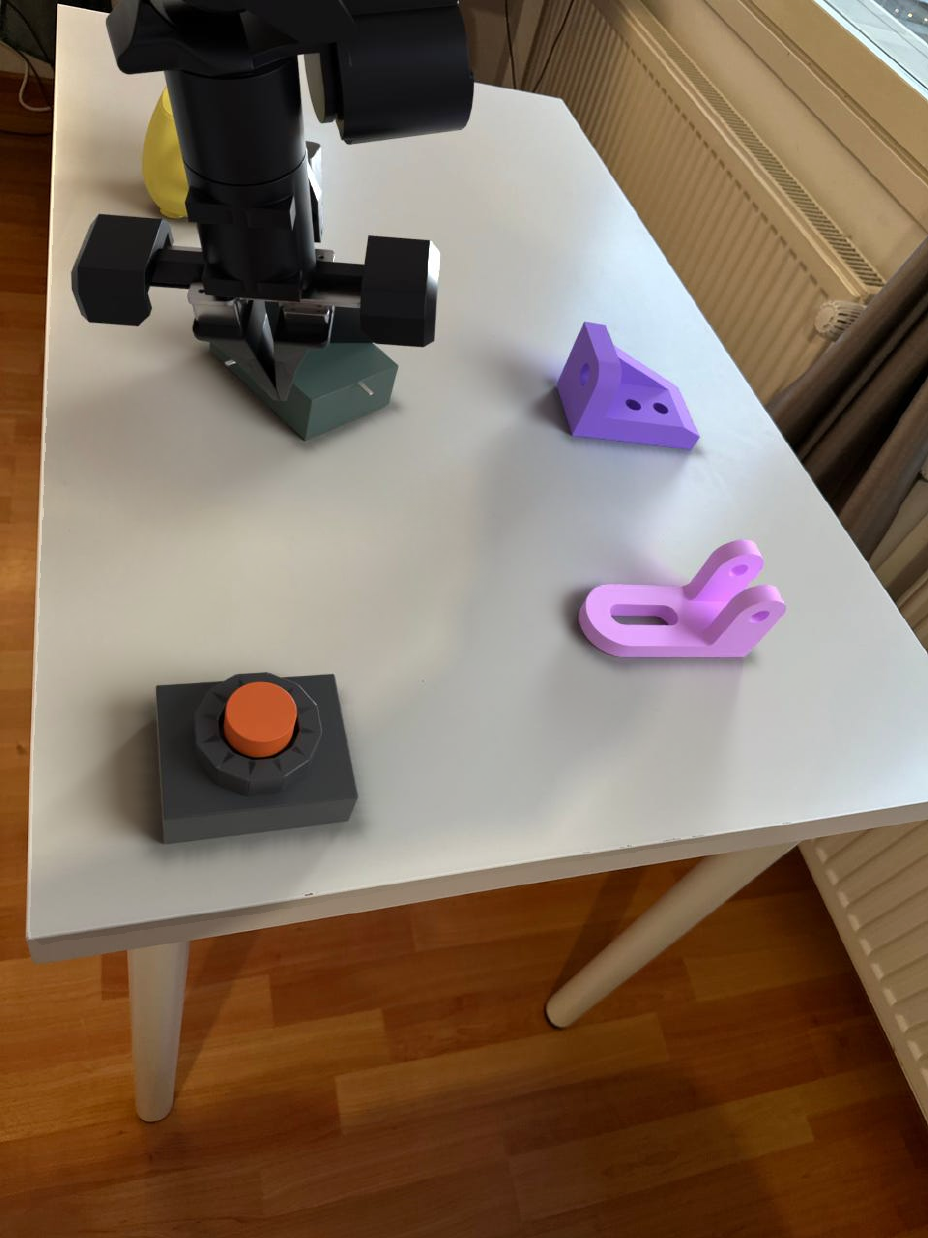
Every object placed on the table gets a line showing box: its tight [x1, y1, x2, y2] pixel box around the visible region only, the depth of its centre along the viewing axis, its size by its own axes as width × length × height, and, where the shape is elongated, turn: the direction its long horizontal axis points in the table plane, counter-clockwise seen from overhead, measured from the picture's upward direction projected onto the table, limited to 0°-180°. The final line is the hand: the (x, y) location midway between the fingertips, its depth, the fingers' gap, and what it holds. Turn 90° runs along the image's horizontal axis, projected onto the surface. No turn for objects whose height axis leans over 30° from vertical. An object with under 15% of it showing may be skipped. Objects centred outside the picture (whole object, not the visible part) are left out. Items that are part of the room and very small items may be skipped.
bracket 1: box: [556, 321, 701, 450], centre depth 78 cm, size 12×7×7 cm, turn 98°
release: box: [155, 671, 359, 845], centre depth 48 cm, size 10×8×5 cm
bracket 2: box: [578, 539, 787, 658], centre depth 63 cm, size 13×6×7 cm, turn 100°
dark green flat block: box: [208, 342, 399, 442], centre depth 70 cm, size 15×15×4 cm
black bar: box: [265, 301, 375, 344], centre depth 67 cm, size 11×2×5 cm, turn 111°
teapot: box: [141, 85, 189, 219], centre depth 79 cm, size 18×11×11 cm, turn 2°
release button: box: [224, 682, 297, 757], centre depth 46 cm, size 4×4×2 cm
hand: (281, 395), depth 54 cm, fingers closed
